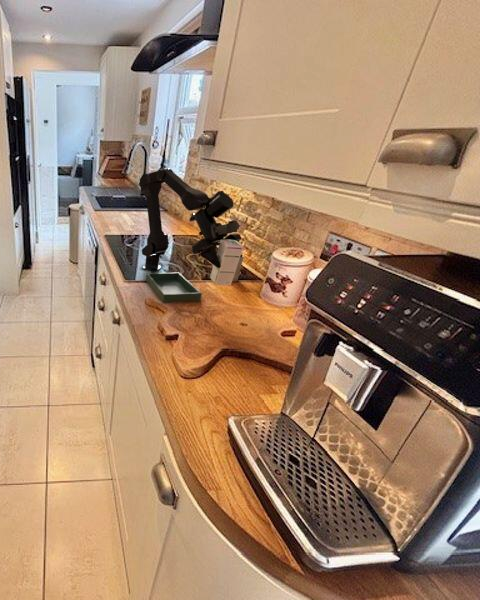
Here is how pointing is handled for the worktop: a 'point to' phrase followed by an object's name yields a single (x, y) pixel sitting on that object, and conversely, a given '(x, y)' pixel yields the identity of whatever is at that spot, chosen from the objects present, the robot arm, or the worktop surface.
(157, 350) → the worktop surface
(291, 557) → the worktop surface
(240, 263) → the grey upright cylinder
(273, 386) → the worktop surface
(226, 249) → the syrup box
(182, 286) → the tray
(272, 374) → the worktop surface
